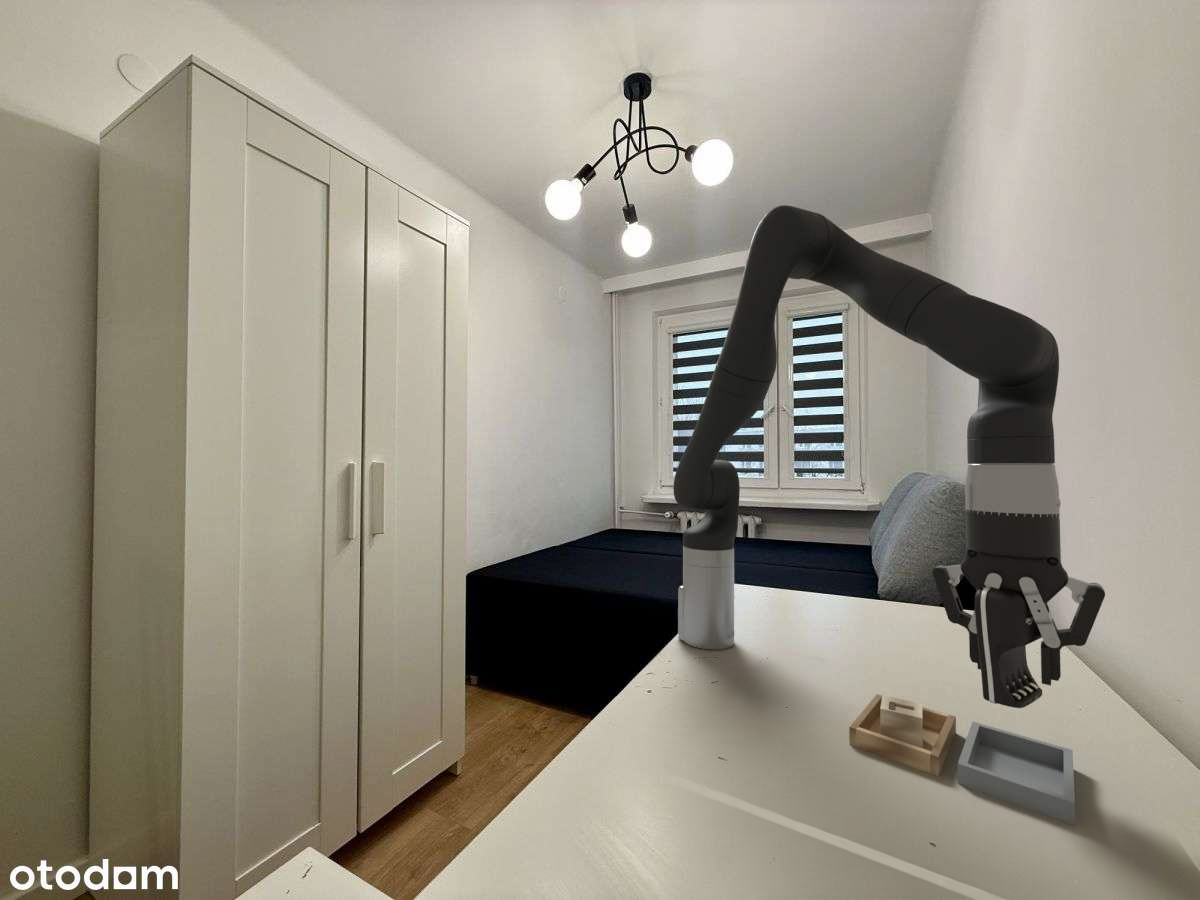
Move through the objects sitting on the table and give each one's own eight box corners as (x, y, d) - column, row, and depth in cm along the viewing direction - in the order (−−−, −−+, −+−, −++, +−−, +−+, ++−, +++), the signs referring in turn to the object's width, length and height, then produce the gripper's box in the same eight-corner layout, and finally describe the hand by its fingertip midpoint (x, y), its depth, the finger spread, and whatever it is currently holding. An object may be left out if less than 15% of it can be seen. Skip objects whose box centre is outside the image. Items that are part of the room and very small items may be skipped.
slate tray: (958, 789, 49) (957, 763, 49) (973, 743, 57) (972, 721, 57) (1075, 832, 43) (1074, 803, 43) (1073, 774, 52) (1072, 749, 52)
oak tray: (849, 749, 56) (849, 726, 56) (876, 713, 64) (876, 694, 64) (938, 782, 50) (938, 757, 50) (956, 738, 58) (955, 716, 59)
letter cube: (880, 744, 56) (880, 707, 56) (883, 729, 59) (882, 694, 59) (922, 755, 54) (922, 717, 54) (922, 739, 57) (922, 703, 57)
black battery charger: (1028, 716, 47) (1016, 594, 48) (981, 702, 50) (970, 587, 51) (1056, 698, 50) (1044, 584, 51) (1010, 686, 54) (1000, 579, 55)
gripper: (922, 505, 54) (924, 666, 53) (1111, 514, 44) (1117, 711, 43) (935, 502, 59) (937, 648, 58) (1106, 510, 49) (1111, 685, 49)
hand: (1013, 674), depth 51 cm, fingers closed on black battery charger, 4 cm apart
